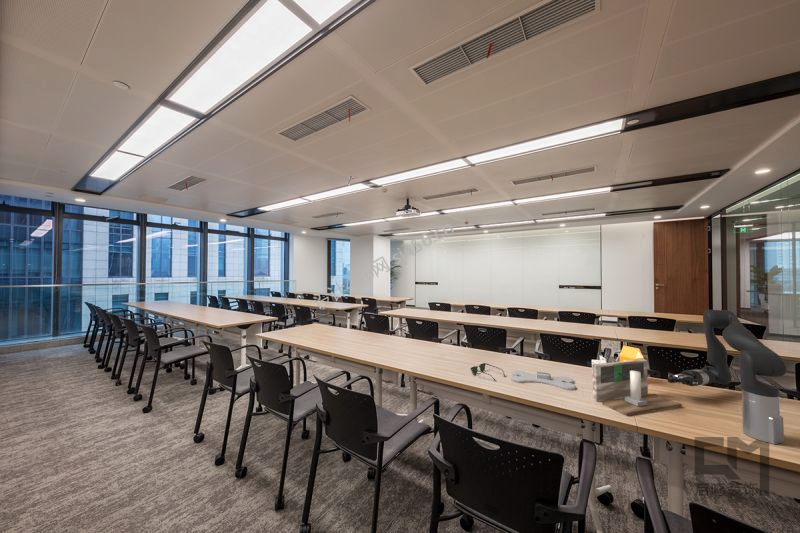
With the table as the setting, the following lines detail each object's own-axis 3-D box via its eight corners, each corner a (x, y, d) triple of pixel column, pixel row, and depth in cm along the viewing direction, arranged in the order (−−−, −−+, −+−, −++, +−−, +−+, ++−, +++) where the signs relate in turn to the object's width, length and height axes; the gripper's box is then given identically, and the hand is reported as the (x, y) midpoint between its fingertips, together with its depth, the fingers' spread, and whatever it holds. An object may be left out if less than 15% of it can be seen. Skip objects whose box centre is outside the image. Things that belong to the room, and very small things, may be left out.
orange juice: (628, 377, 177) (627, 344, 178) (644, 382, 169) (643, 348, 169) (619, 379, 174) (619, 346, 175) (636, 384, 166) (635, 349, 166)
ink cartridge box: (591, 378, 175) (590, 354, 176) (600, 379, 174) (600, 354, 175) (598, 384, 167) (597, 358, 167) (607, 384, 166) (607, 359, 166)
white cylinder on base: (647, 404, 136) (646, 373, 137) (637, 406, 135) (637, 374, 135) (624, 395, 147) (623, 366, 147) (615, 396, 145) (614, 367, 146)
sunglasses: (493, 383, 169) (493, 374, 169) (469, 375, 182) (469, 367, 182) (508, 376, 180) (508, 368, 180) (484, 370, 193) (484, 362, 193)
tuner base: (681, 407, 138) (680, 369, 138) (627, 416, 129) (626, 375, 130) (643, 392, 154) (642, 359, 154) (593, 400, 146) (592, 364, 146)
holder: (576, 392, 156) (576, 383, 156) (510, 382, 171) (510, 373, 171) (572, 380, 173) (572, 372, 174) (512, 372, 188) (512, 364, 188)
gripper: (678, 366, 155) (654, 368, 150) (710, 374, 142) (685, 377, 138) (679, 380, 154) (655, 383, 150) (711, 389, 142) (686, 393, 137)
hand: (669, 380), depth 144 cm, fingers closed
